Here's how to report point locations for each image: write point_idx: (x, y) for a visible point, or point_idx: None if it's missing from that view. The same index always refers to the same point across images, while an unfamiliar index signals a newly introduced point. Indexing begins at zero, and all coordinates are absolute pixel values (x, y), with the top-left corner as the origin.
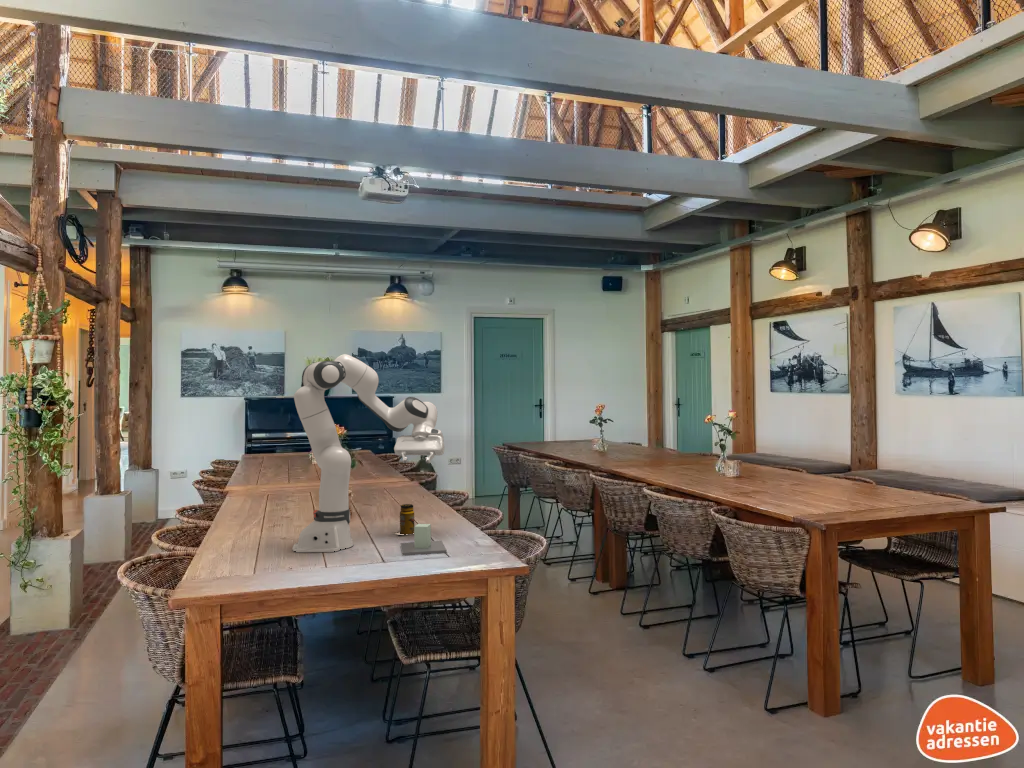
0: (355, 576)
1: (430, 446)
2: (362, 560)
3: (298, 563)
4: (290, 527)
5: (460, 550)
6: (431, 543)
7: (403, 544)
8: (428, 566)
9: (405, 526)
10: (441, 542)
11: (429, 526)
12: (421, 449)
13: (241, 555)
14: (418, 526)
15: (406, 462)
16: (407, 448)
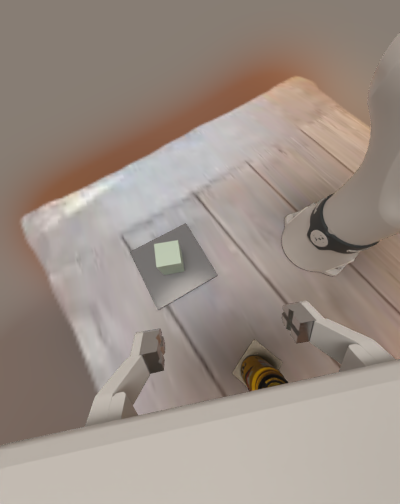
0: (195, 143)
1: (94, 500)
2: (224, 193)
3: (287, 166)
4: None
5: (114, 272)
6: (167, 285)
7: (207, 267)
8: (133, 190)
9: (254, 359)
10: (153, 296)
11: (156, 259)
12: (210, 408)
13: None
14: (170, 242)
15: (282, 314)
16: (376, 388)
